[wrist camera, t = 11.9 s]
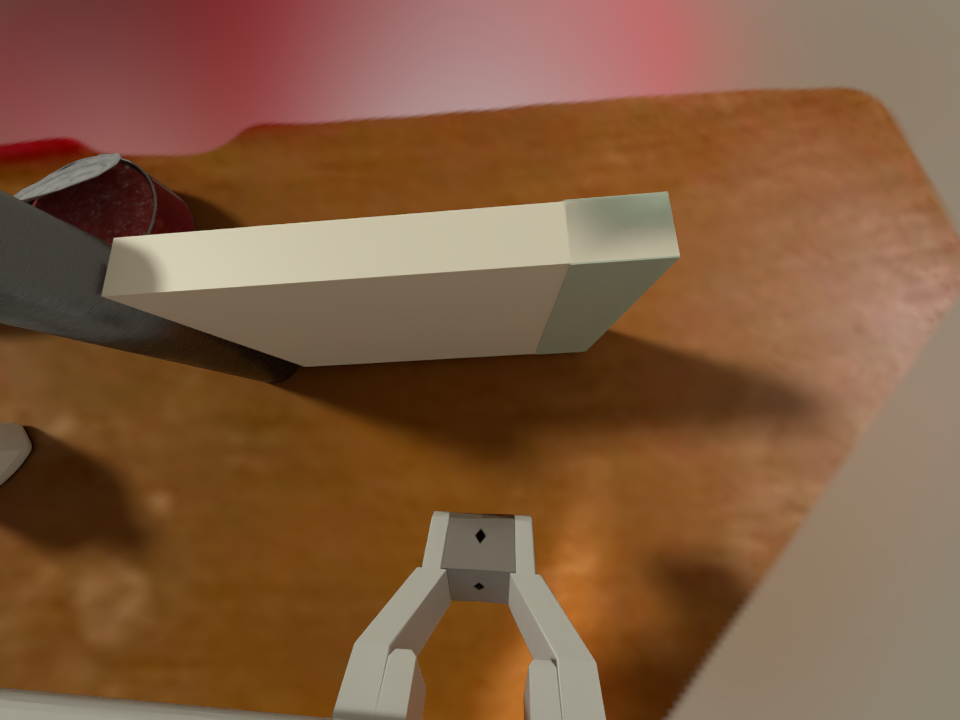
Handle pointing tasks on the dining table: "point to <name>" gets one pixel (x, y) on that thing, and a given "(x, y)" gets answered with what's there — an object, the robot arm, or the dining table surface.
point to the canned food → (109, 199)
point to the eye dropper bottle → (12, 449)
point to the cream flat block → (407, 280)
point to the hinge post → (99, 299)
